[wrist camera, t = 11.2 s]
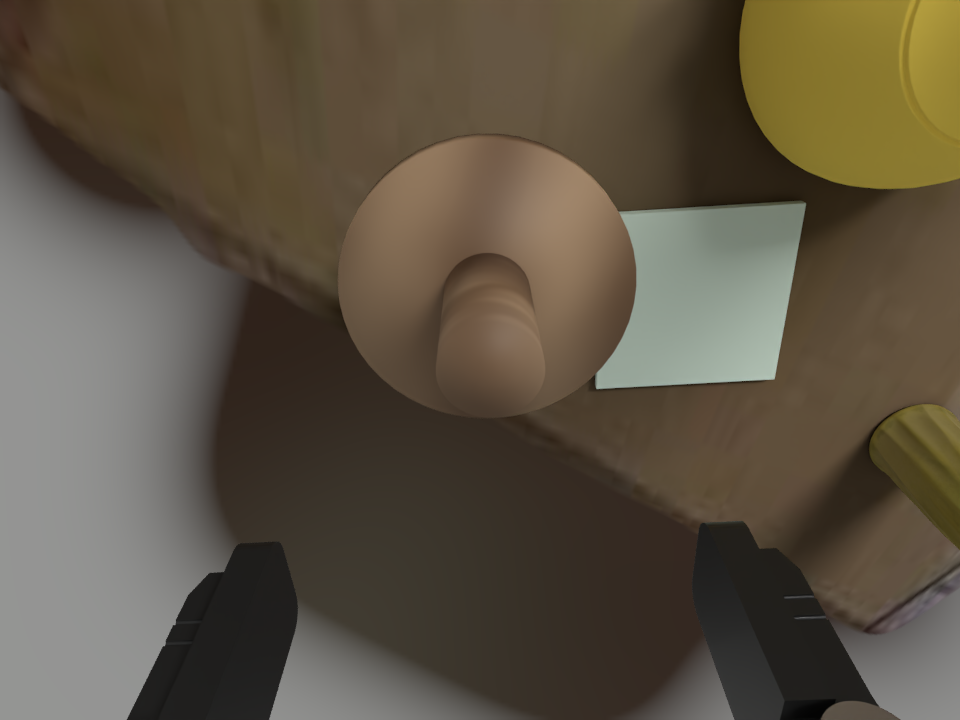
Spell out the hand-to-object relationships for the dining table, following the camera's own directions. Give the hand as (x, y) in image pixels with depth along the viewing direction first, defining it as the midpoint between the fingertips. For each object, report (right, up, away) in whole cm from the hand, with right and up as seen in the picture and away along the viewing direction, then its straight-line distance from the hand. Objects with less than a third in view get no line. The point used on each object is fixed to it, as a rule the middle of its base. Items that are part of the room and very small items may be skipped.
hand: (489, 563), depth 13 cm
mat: (+13, +8, +29) cm, 33 cm away
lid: (0, +7, +13) cm, 14 cm away
